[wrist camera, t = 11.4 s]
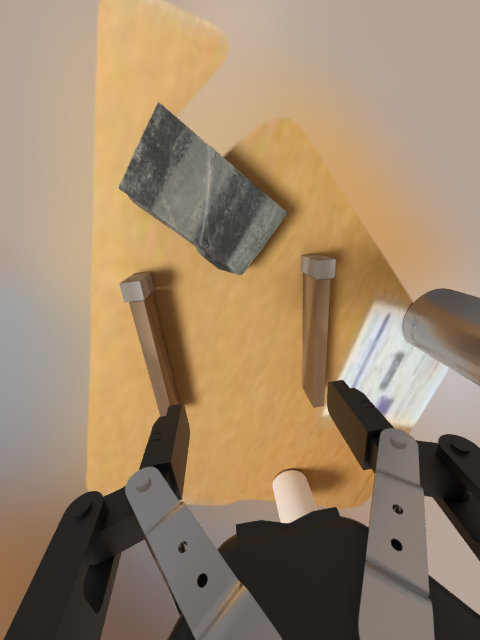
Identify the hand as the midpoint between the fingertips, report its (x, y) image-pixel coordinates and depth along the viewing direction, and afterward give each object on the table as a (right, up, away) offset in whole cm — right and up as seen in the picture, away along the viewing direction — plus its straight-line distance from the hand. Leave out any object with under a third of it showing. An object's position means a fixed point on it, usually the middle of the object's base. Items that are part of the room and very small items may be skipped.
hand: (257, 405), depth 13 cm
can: (+8, -25, +33) cm, 42 cm away
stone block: (-5, +17, +14) cm, 23 cm away
